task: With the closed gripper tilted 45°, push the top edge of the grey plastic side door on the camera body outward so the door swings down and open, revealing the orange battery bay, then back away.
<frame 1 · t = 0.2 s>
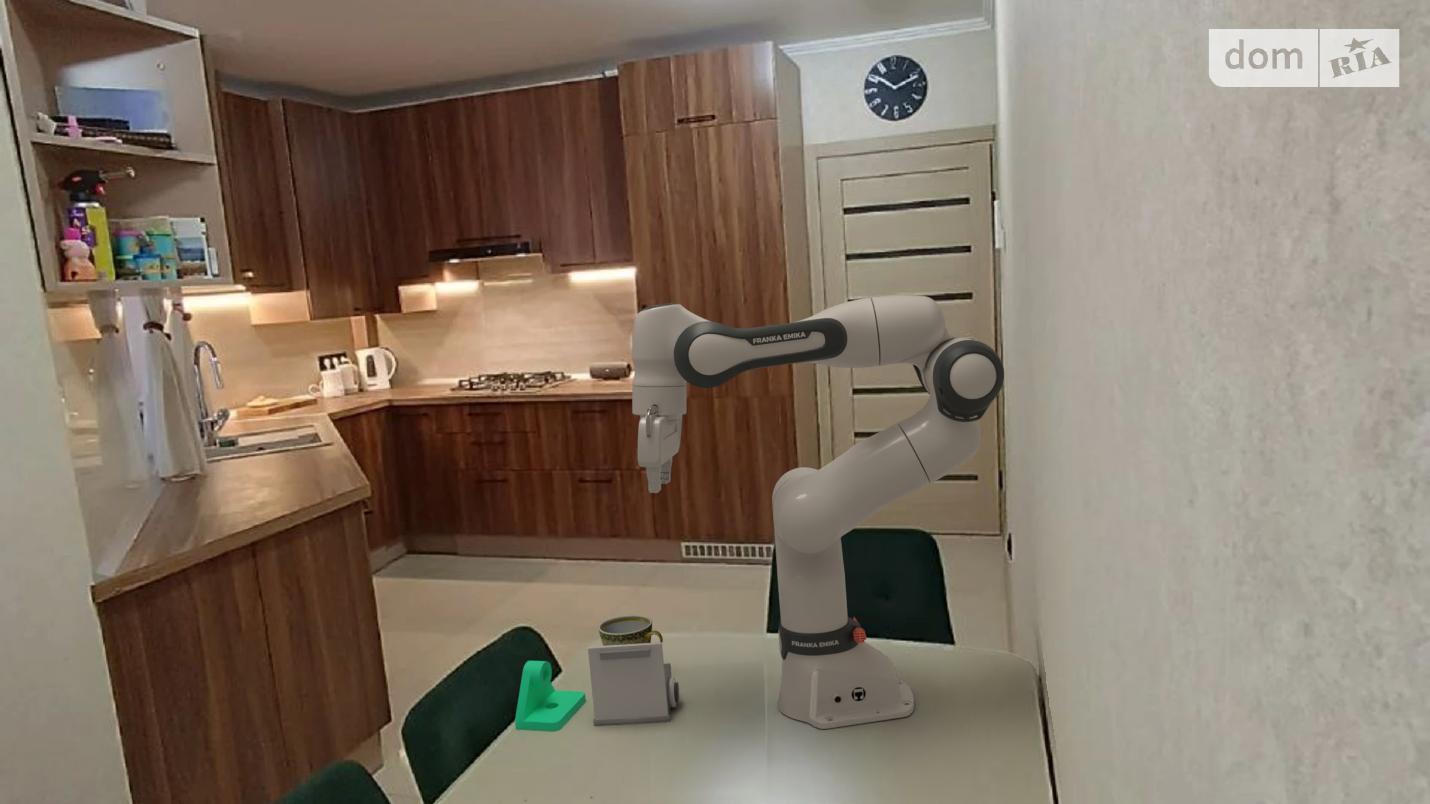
hand: (659, 487, 151), 39 cm above the table, tool pointing down, fingers open, 8 cm apart
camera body: (636, 714, 156), on the table
side door: (628, 685, 150), point 7 cm above the table, hinge at 0.0°
ceramic cup: (636, 677, 172), on the table
camera mount: (553, 721, 156), on the table
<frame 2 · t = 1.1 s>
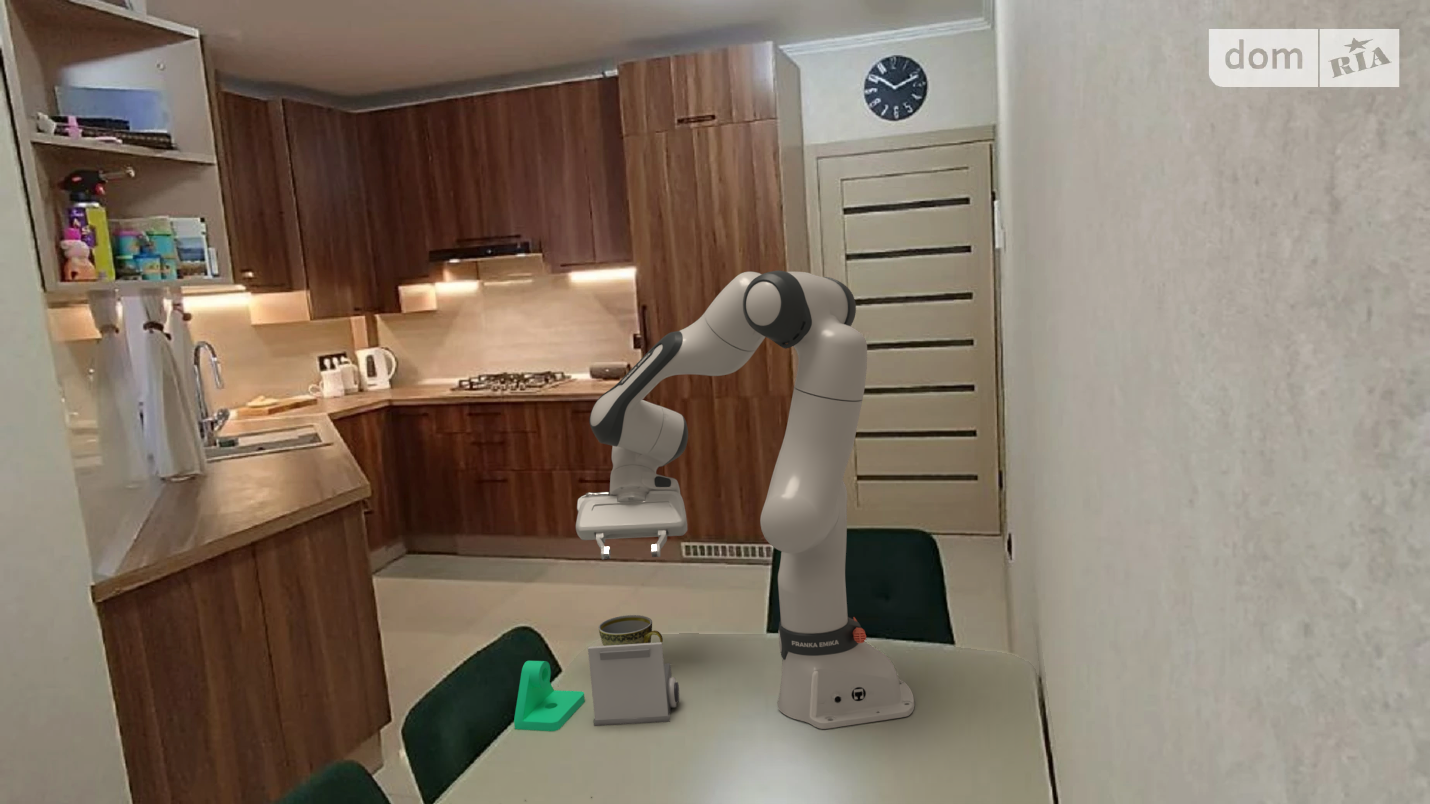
hand: (630, 556, 164), 24 cm above the table, tool tilted 45°, fingers open, 8 cm apart
nothing on the table moved.
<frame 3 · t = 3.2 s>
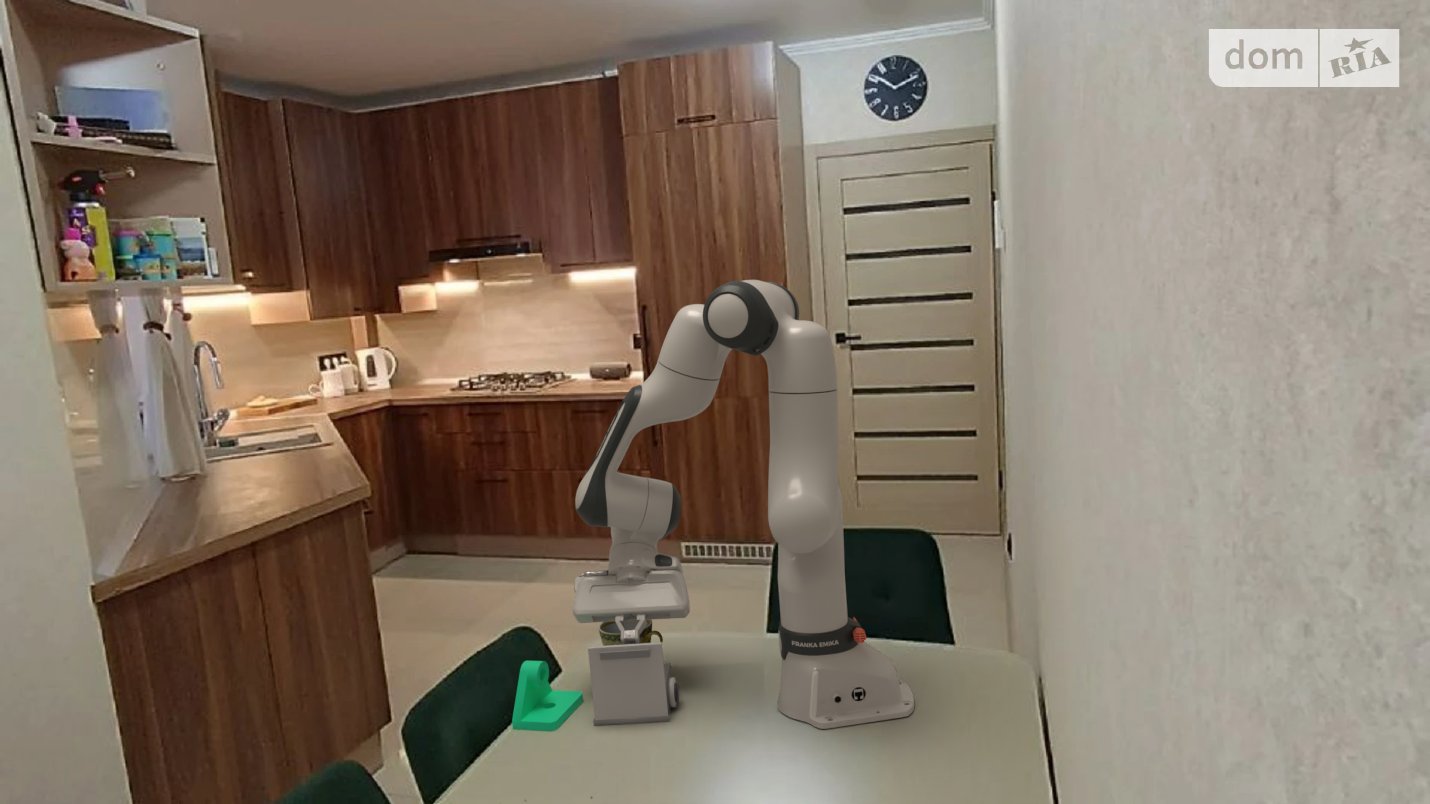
hand: (629, 642, 156), 12 cm above the table, tool tilted 45°, fingers closed
nothing on the table moved.
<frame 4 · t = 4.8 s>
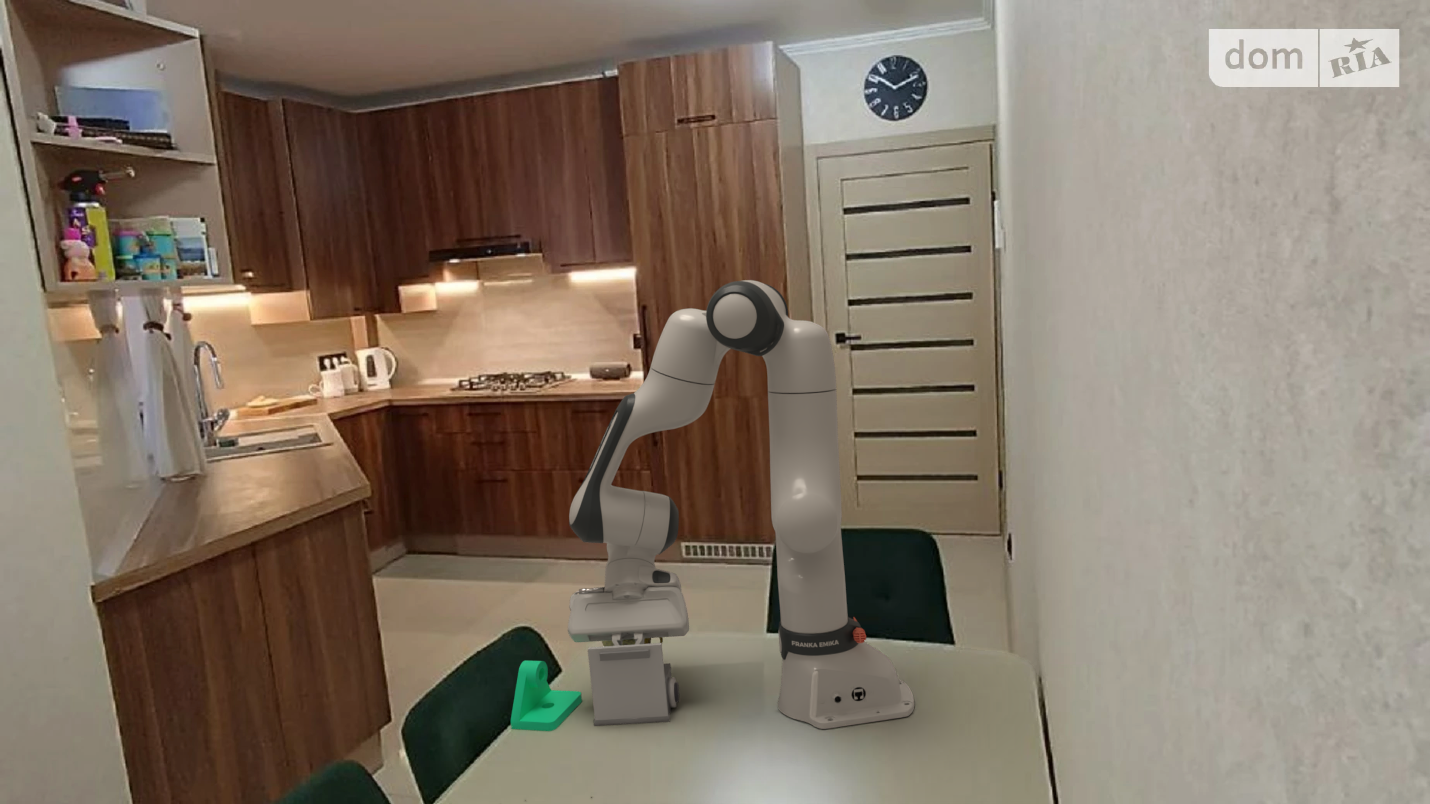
hand: (627, 662, 150), 11 cm above the table, tool tilted 45°, fingers closed, pressing on side door
side door: (628, 685, 150), point 7 cm above the table, hinge at 1.4°, touching gripper
everything else where it was.
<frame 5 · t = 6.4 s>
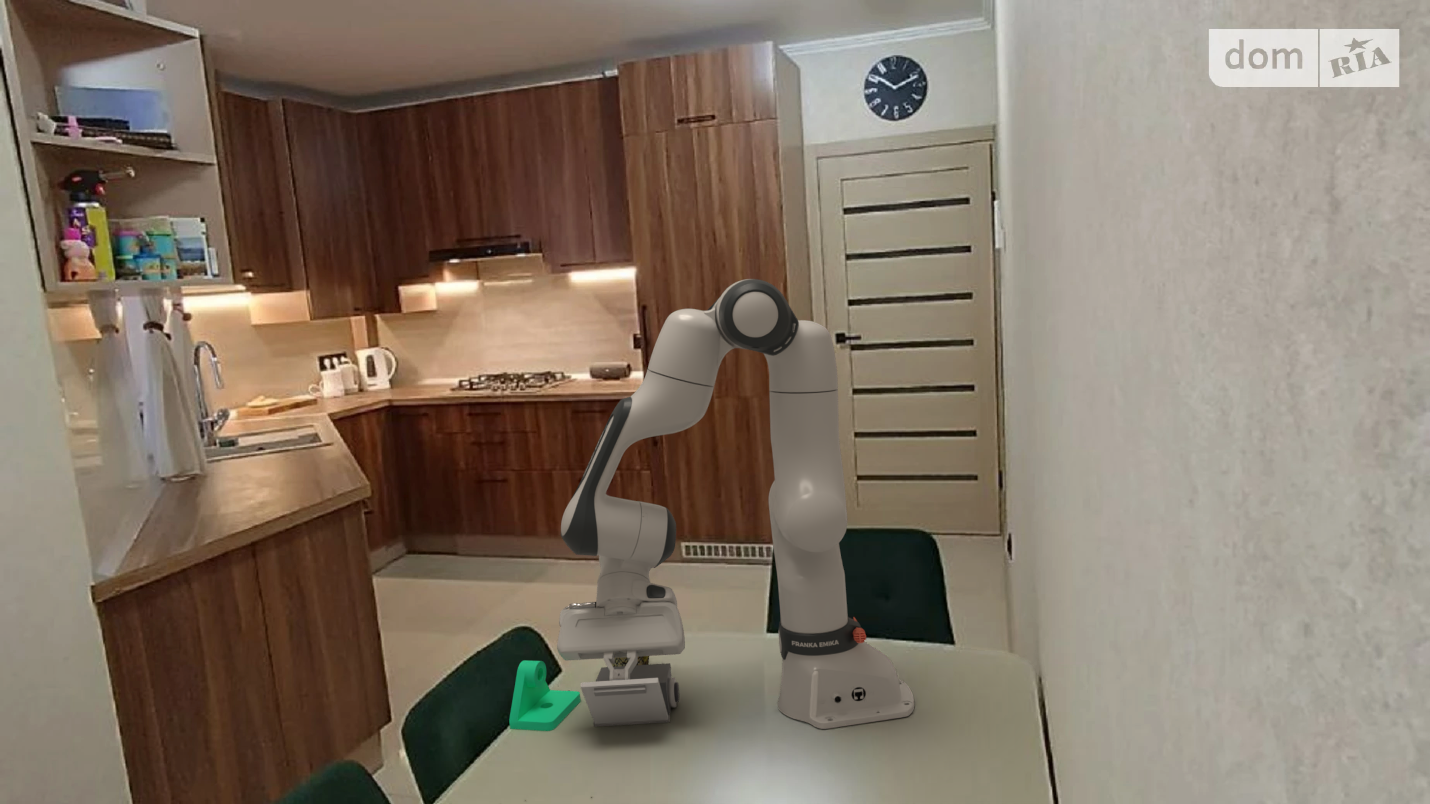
hand: (619, 682, 143), 11 cm above the table, tool tilted 45°, fingers closed, pressing on side door
side door: (625, 705, 146), point 6 cm above the table, hinge at 38.3°, touching gripper
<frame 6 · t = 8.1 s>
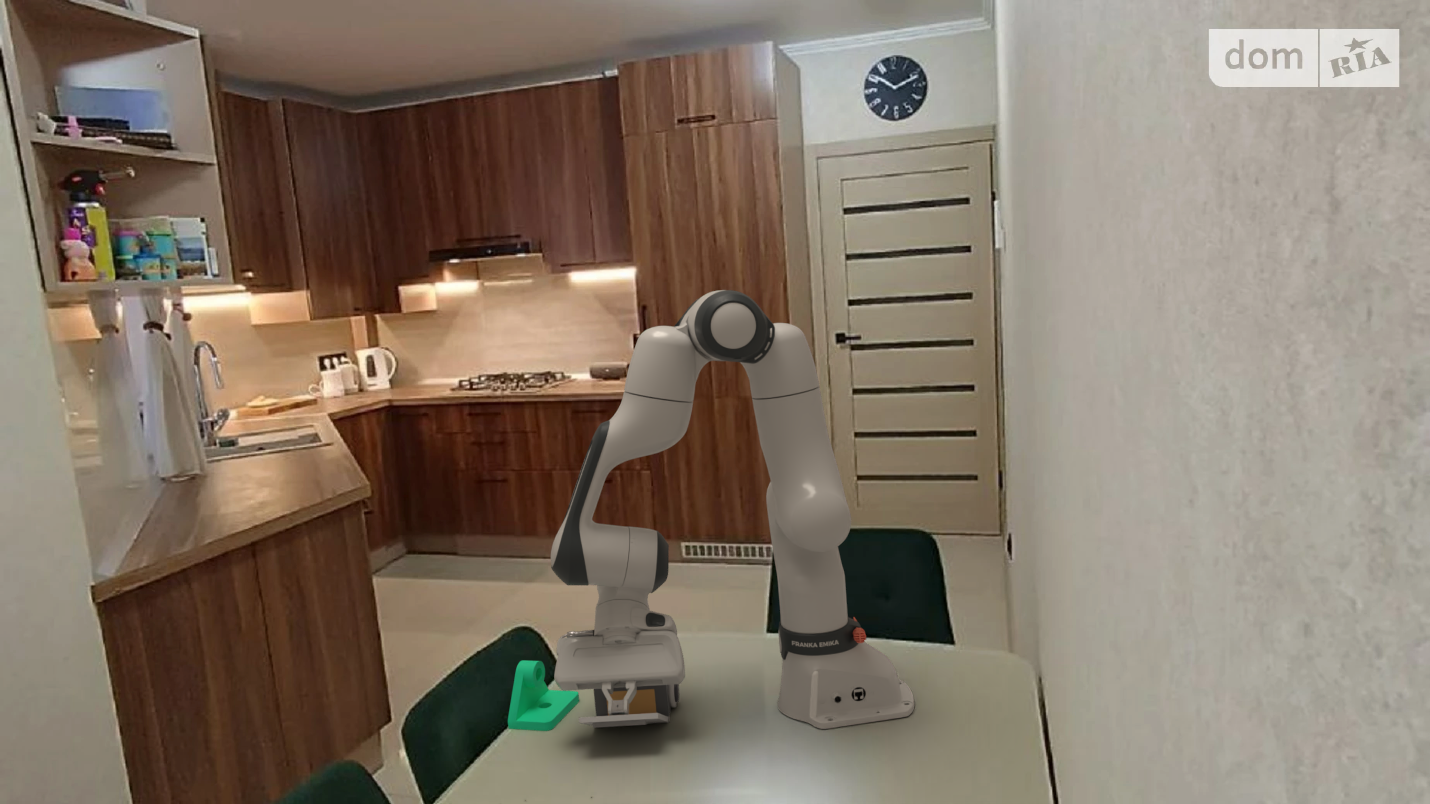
hand: (618, 713, 139), 7 cm above the table, tool tilted 45°, fingers closed, pressing on side door
side door: (625, 722, 145), point 4 cm above the table, hinge at 61.9°, touching gripper
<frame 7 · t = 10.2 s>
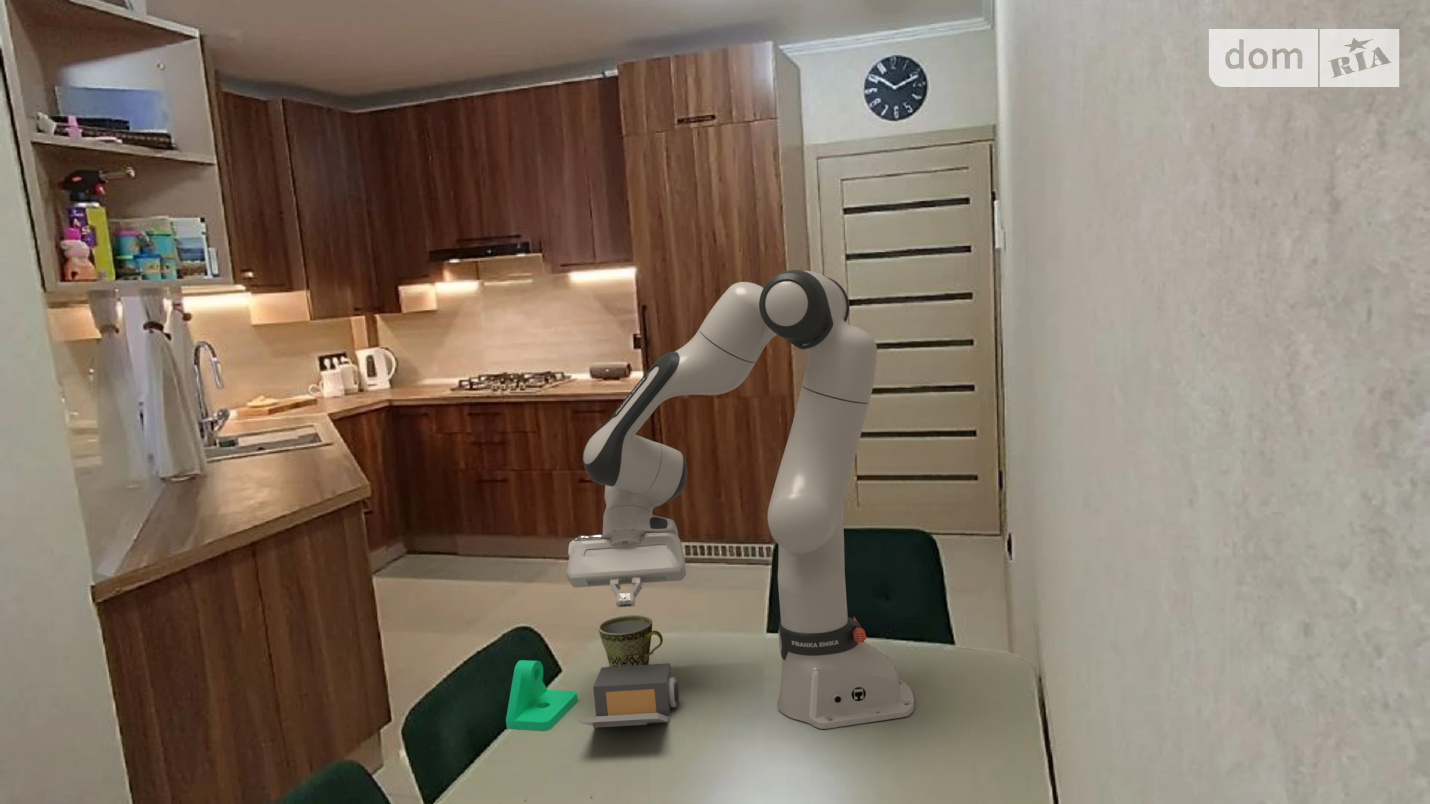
hand: (625, 605, 153), 19 cm above the table, tool tilted 45°, fingers closed
side door: (625, 722, 145), point 4 cm above the table, hinge at 62.0°
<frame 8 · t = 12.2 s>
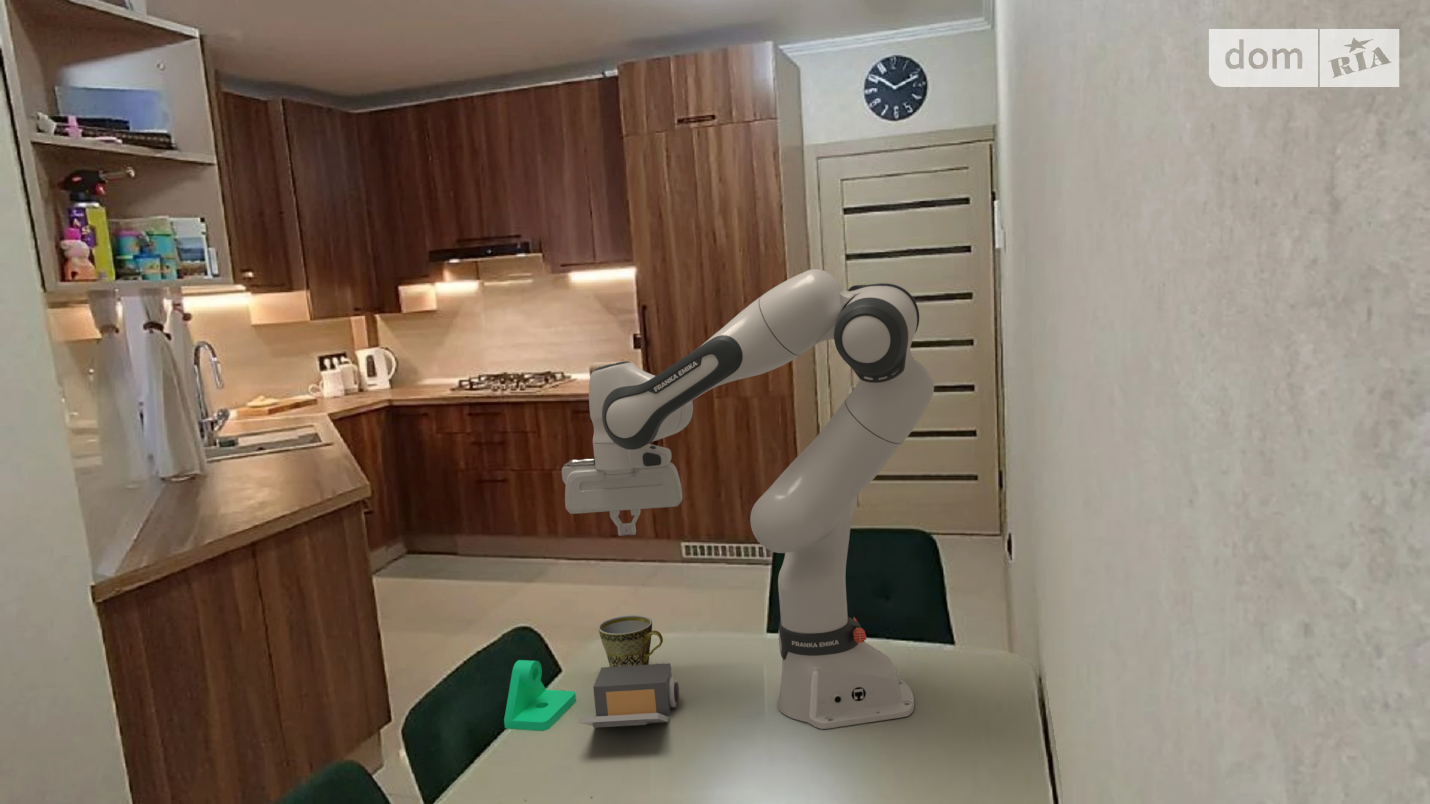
hand: (627, 534, 160), 29 cm above the table, tool pointing down, fingers closed
at the end: side door at +62° (first picture: +0°); camera mount moved 2.1 cm from its start; ceramic cup moved 0.2 cm from its start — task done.
